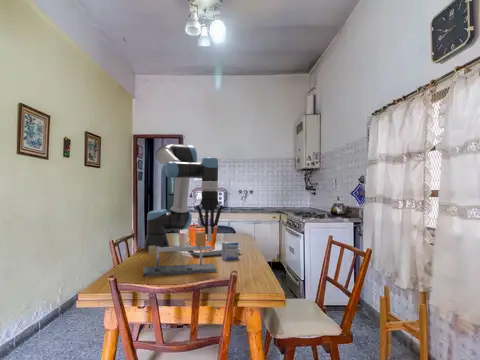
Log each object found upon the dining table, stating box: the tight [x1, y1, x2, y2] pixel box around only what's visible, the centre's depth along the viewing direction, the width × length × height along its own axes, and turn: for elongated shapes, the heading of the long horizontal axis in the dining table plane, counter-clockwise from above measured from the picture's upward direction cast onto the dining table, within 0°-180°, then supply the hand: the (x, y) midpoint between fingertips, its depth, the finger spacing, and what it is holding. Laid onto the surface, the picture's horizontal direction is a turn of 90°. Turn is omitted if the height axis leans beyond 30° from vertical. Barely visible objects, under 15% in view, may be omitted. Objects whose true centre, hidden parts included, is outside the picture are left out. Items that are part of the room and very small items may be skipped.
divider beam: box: [147, 245, 211, 269], centre depth 144 cm, size 6×28×10 cm, turn 105°
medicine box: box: [221, 241, 239, 261], centre depth 170 cm, size 8×4×9 cm, turn 123°
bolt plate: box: [142, 262, 218, 277], centre depth 145 cm, size 10×32×2 cm, turn 105°
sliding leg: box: [194, 230, 207, 266], centre depth 147 cm, size 6×4×15 cm
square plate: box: [185, 240, 242, 257], centre depth 188 cm, size 27×27×4 cm
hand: (209, 240), depth 148 cm, fingers closed
